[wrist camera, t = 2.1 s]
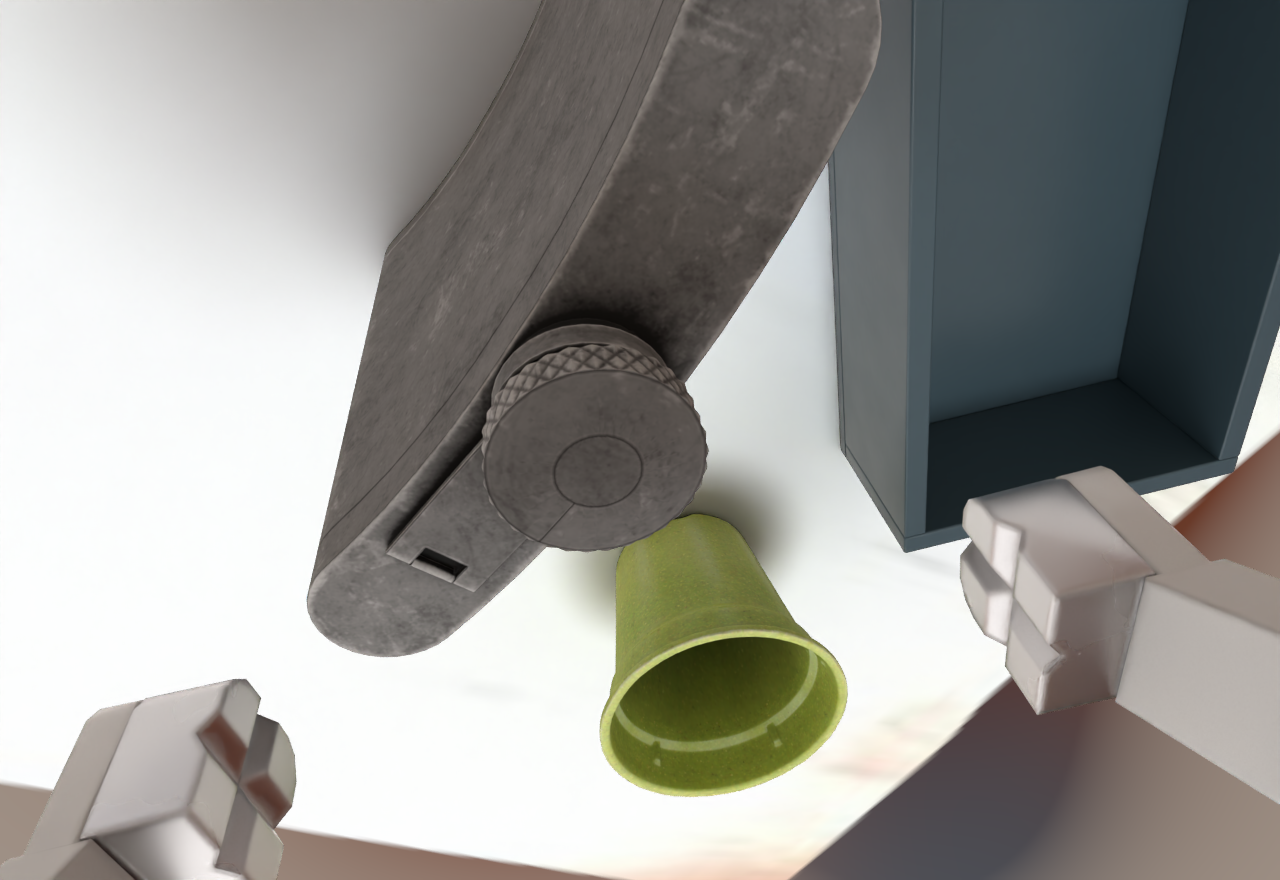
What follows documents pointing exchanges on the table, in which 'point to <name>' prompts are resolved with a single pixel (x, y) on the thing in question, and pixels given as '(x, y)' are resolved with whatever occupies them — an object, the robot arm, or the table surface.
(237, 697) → the robot arm
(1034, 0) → the tote
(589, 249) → the flask
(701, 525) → the plant pot
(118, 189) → the table surface
